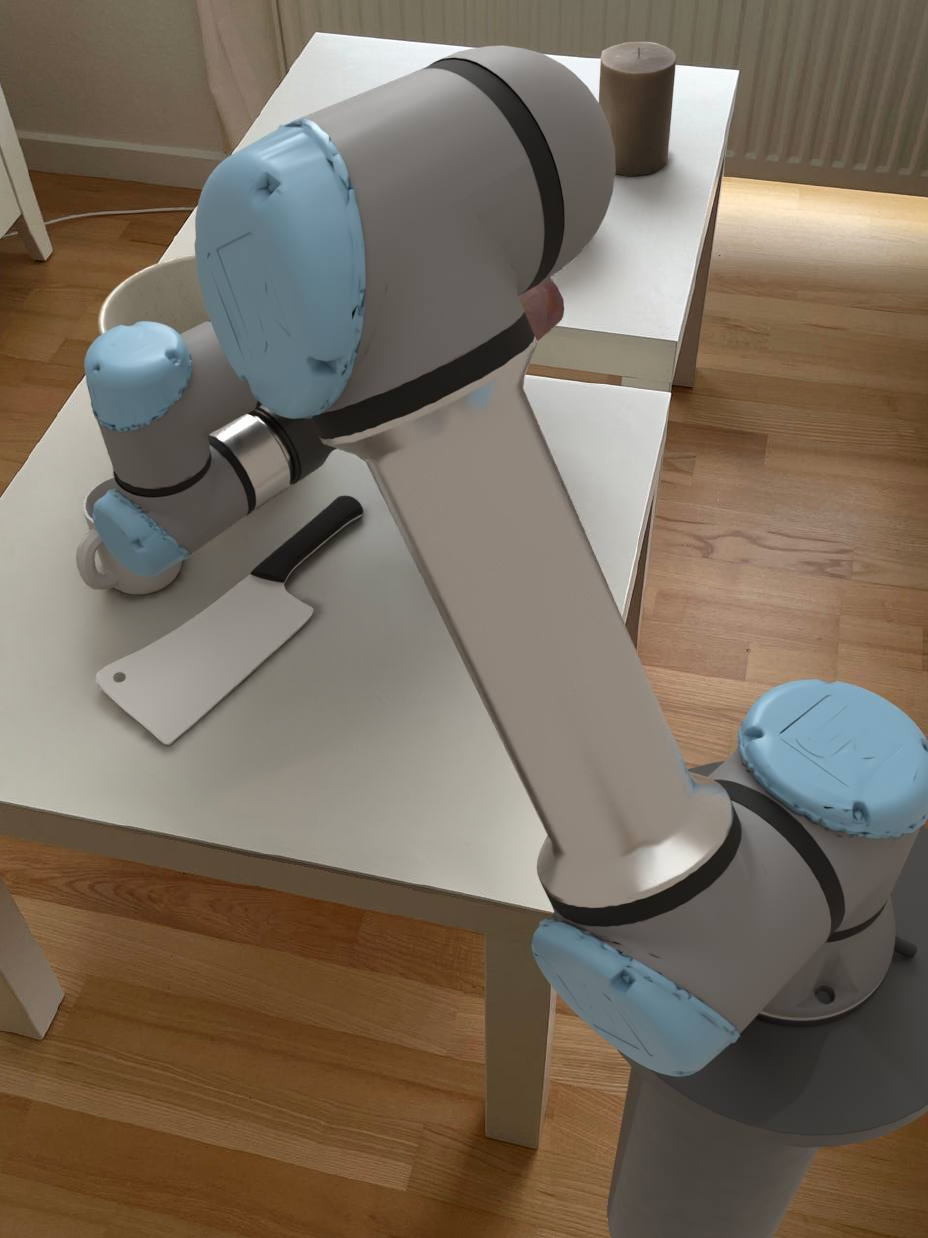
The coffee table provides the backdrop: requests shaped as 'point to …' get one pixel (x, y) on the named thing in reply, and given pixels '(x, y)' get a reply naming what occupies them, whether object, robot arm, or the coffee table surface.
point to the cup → (112, 568)
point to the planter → (157, 297)
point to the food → (543, 307)
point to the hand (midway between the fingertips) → (452, 328)
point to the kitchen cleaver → (221, 638)
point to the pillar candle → (638, 104)
